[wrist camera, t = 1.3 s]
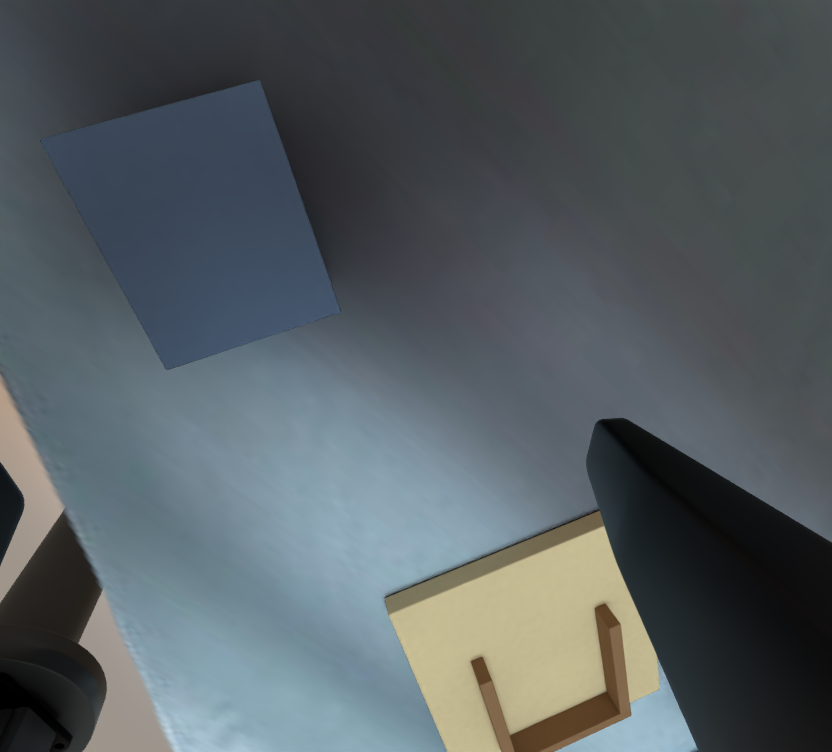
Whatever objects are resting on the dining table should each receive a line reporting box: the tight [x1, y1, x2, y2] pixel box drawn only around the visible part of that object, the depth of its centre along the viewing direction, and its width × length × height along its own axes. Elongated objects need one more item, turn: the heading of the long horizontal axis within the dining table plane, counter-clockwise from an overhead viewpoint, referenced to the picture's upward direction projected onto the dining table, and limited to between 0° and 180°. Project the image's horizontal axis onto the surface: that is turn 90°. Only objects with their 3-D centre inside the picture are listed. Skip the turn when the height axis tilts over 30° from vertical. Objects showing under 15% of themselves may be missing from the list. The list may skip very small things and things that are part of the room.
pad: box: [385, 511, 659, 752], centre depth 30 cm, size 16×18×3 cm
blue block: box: [40, 80, 341, 370], centre depth 16 cm, size 6×7×4 cm
